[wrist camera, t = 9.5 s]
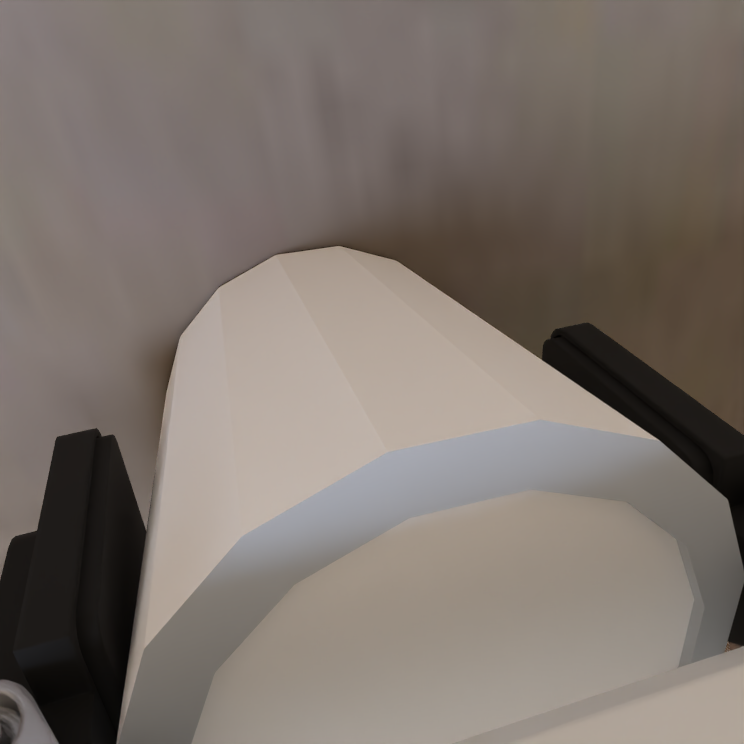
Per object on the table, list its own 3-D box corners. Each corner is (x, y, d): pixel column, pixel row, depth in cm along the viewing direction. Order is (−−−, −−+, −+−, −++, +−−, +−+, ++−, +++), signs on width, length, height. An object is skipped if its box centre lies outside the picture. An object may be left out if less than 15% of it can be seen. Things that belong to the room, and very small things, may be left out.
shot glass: (353, 120, 11) (594, 261, 5) (547, 388, 15) (821, 652, 9) (39, 394, 12) (-71, 802, 6) (298, 586, 15) (395, 959, 9)
